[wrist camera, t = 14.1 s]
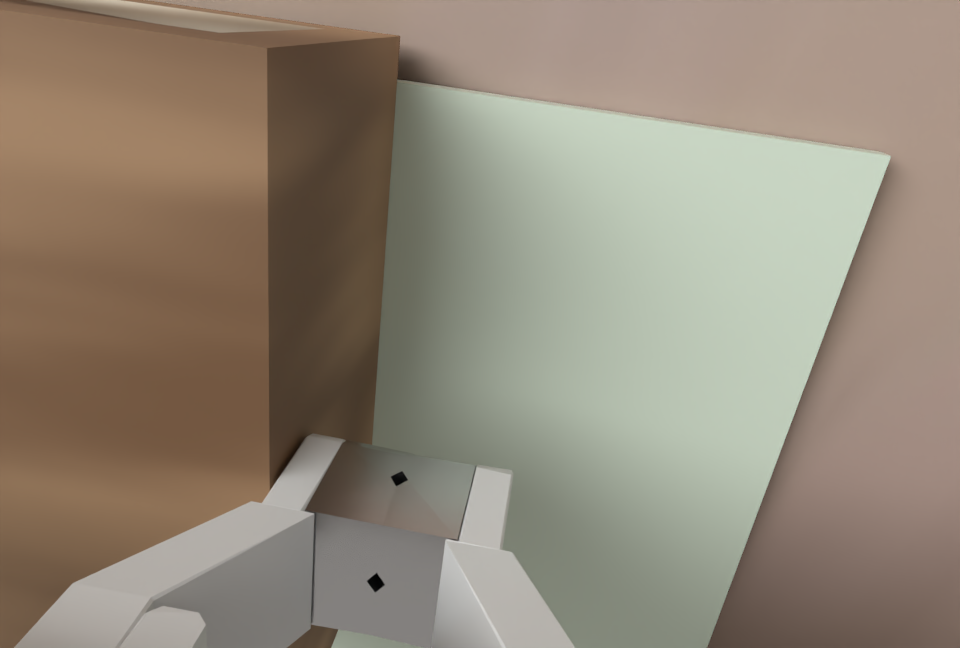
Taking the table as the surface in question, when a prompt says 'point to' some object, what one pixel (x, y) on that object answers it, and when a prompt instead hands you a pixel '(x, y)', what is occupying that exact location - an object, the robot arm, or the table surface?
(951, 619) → the table surface
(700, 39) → the table surface
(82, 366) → the block
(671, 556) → the mat
